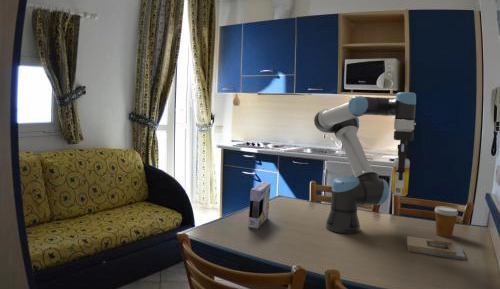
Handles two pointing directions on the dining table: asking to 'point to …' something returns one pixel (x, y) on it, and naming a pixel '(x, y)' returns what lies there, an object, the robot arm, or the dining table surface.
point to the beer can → (406, 177)
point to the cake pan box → (259, 204)
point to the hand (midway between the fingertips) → (400, 186)
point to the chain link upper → (421, 244)
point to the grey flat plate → (458, 254)
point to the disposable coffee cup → (445, 220)
